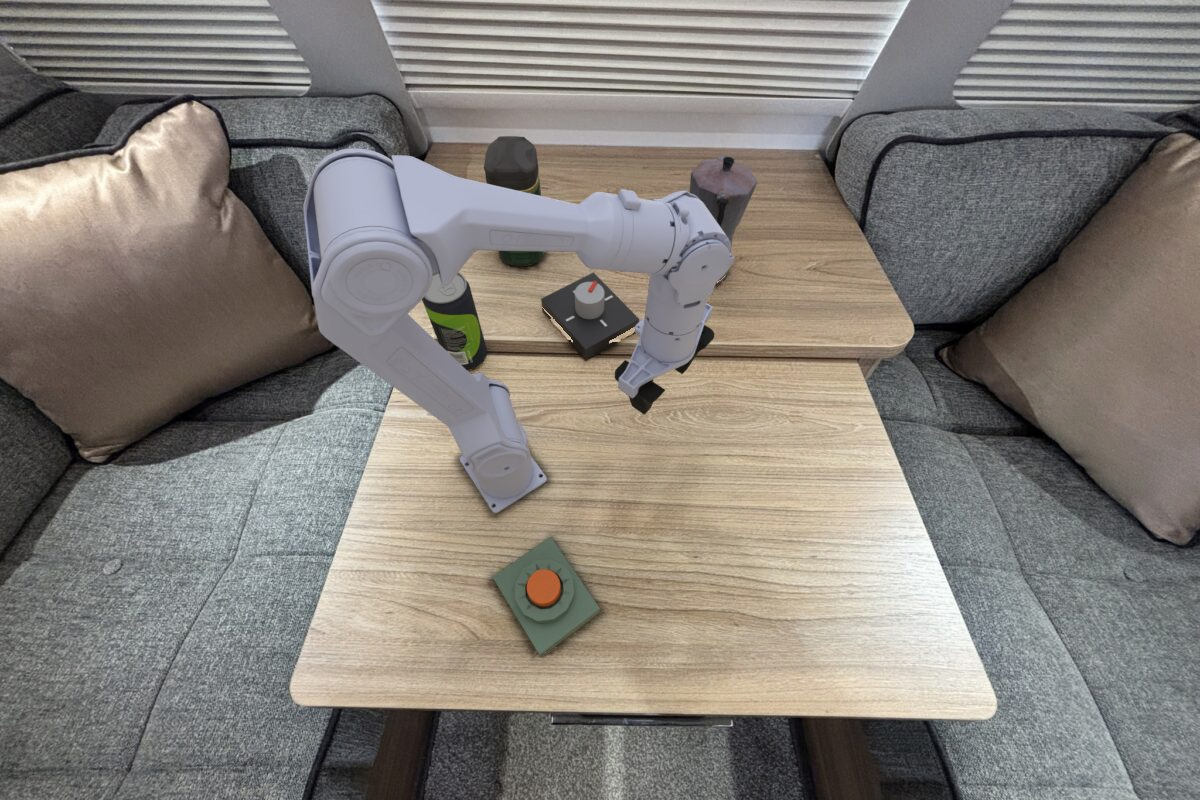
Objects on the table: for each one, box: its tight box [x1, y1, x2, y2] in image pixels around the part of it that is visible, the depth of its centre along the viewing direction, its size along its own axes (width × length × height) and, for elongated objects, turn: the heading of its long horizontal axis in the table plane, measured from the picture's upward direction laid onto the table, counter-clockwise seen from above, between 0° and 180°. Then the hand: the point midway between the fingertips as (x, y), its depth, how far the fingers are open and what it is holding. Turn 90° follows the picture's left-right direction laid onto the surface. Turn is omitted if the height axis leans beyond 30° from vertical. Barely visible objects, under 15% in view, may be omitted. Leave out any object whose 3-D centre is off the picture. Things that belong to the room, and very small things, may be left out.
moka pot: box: [689, 154, 758, 286], centre depth 81 cm, size 10×15×20 cm, turn 174°
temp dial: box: [575, 281, 605, 319], centre depth 79 cm, size 4×4×4 cm
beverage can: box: [421, 271, 488, 371], centre depth 73 cm, size 6×6×15 cm
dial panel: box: [540, 272, 640, 362], centre depth 82 cm, size 12×10×3 cm
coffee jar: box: [483, 135, 545, 267], centre depth 84 cm, size 10×8×19 cm
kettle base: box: [492, 536, 601, 658], centre depth 60 cm, size 10×8×4 cm
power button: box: [527, 569, 561, 607], centre depth 58 cm, size 4×4×2 cm
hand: (658, 387), depth 65 cm, fingers open, 7 cm apart
